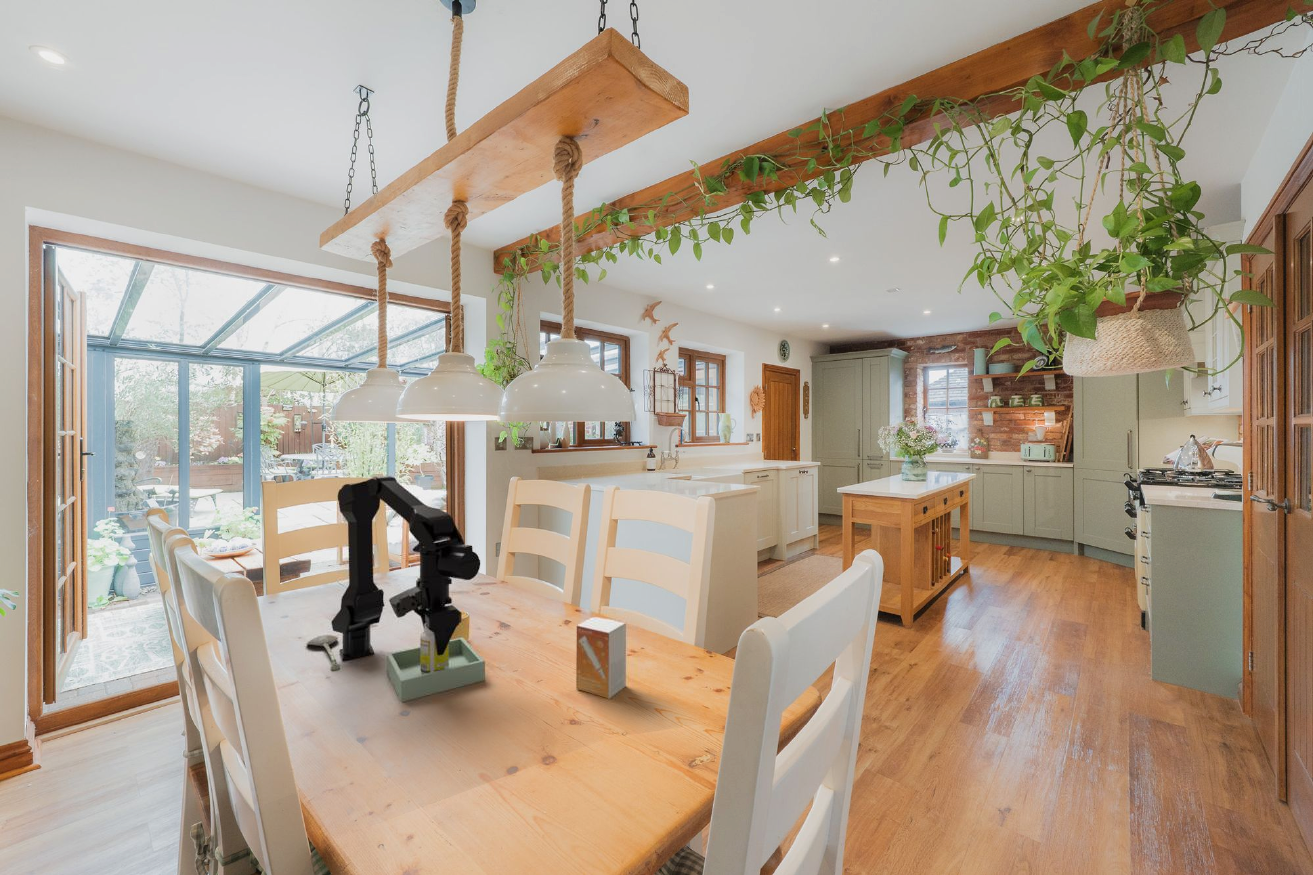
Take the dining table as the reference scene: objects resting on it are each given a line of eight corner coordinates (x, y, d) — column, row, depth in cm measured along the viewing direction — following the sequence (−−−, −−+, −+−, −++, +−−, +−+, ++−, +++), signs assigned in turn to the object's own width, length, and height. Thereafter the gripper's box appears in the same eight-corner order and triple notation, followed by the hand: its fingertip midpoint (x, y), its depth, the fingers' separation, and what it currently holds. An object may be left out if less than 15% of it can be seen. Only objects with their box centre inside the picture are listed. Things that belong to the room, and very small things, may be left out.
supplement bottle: (451, 664, 119) (452, 617, 118) (444, 676, 113) (444, 627, 113) (424, 665, 118) (425, 618, 118) (416, 677, 112) (416, 628, 112)
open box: (386, 671, 117) (386, 653, 117) (462, 654, 127) (462, 637, 127) (401, 701, 104) (401, 681, 104) (484, 680, 114) (484, 660, 113)
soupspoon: (336, 641, 138) (305, 648, 134) (335, 628, 138) (304, 635, 134) (352, 667, 121) (317, 676, 116) (351, 652, 121) (316, 661, 116)
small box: (575, 690, 109) (575, 625, 109) (594, 677, 115) (594, 615, 115) (609, 699, 105) (609, 632, 105) (626, 686, 111) (626, 622, 111)
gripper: (384, 570, 118) (385, 642, 118) (401, 590, 103) (402, 673, 103) (438, 563, 125) (438, 631, 125) (462, 581, 109) (462, 659, 110)
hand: (434, 647), depth 115 cm, fingers open, 9 cm apart
